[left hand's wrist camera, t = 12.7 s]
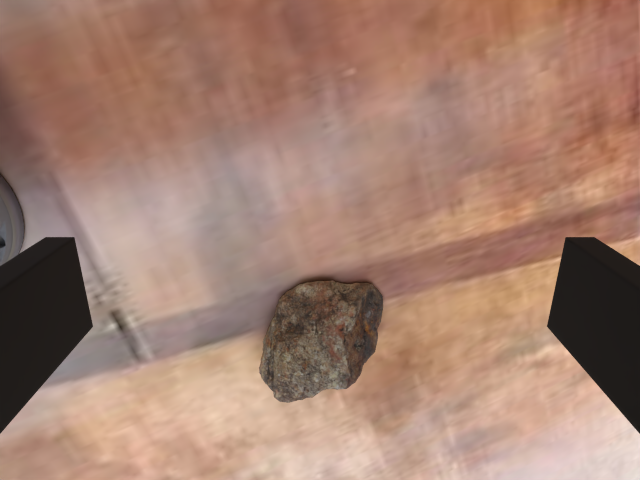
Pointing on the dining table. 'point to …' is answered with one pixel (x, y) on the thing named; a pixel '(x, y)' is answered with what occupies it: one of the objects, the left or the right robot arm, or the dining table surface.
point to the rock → (320, 338)
